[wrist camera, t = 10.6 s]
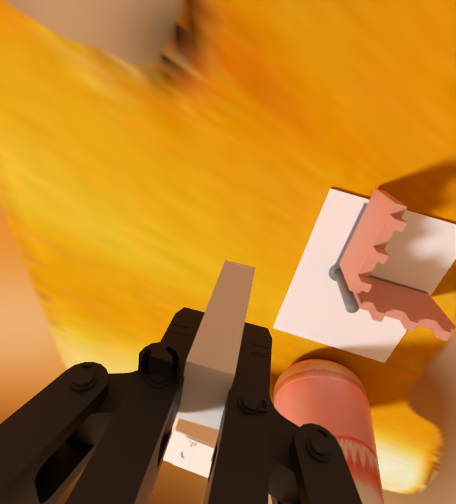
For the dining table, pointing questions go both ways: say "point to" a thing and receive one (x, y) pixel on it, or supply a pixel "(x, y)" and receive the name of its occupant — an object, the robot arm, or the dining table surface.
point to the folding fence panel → (404, 307)
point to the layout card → (393, 271)
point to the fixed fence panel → (368, 246)
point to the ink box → (191, 446)
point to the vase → (334, 415)
